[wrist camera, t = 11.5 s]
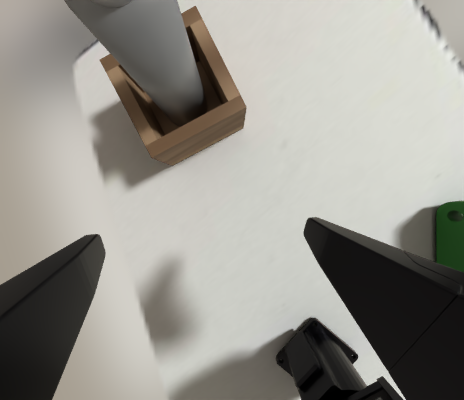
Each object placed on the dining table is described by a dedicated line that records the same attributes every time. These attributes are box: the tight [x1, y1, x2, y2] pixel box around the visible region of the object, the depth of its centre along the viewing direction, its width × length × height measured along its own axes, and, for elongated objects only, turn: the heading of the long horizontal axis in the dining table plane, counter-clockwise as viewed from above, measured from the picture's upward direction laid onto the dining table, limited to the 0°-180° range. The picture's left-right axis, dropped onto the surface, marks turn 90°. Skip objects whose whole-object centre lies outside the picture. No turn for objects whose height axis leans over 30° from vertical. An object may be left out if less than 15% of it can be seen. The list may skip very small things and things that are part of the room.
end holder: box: [100, 6, 246, 166], centre depth 17 cm, size 8×8×5 cm
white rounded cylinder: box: [65, 0, 208, 127], centre depth 12 cm, size 4×4×12 cm
